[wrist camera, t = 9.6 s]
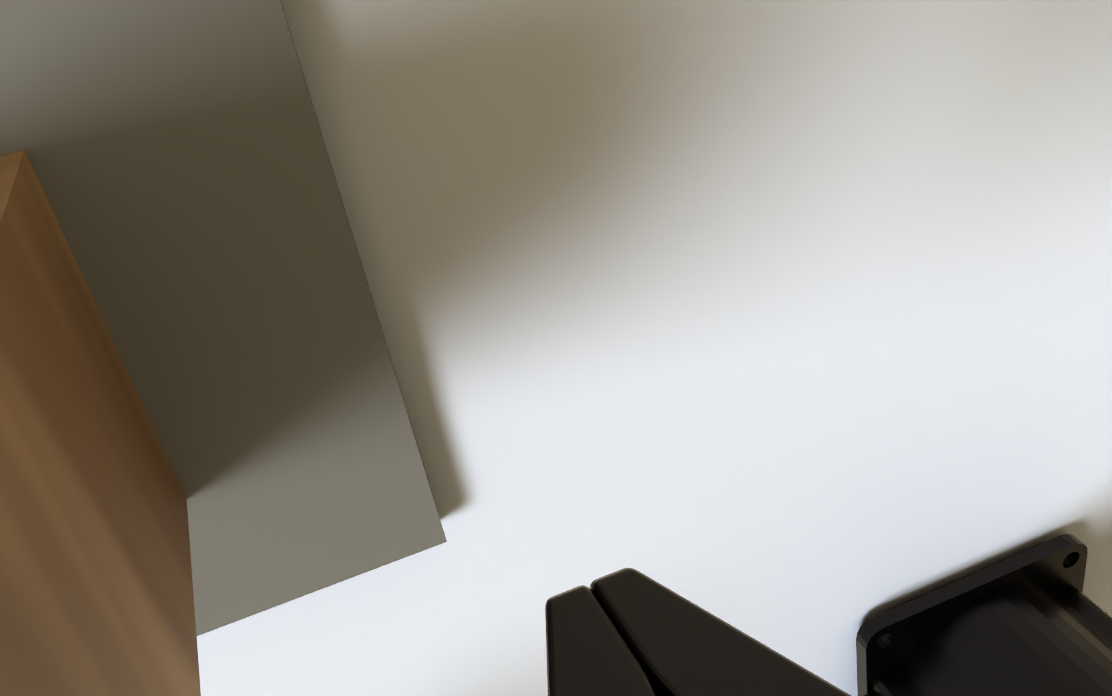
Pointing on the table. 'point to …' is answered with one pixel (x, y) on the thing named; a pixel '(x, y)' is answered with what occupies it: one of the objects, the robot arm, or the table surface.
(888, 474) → the table surface
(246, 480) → the mat
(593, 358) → the table surface
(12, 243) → the slab
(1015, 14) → the table surface
